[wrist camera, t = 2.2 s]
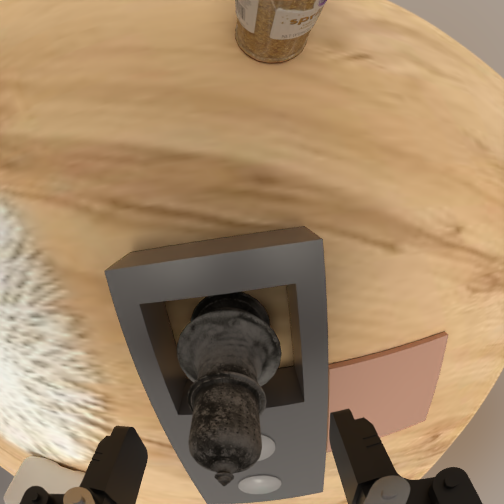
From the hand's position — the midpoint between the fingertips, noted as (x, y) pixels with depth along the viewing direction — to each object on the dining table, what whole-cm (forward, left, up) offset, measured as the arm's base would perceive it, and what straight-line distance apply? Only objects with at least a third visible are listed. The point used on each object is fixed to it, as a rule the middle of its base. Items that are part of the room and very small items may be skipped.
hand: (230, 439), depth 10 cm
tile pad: (+10, +12, -10) cm, 18 cm away
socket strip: (+6, 0, -10) cm, 11 cm away
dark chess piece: (0, 0, -10) cm, 10 cm away
